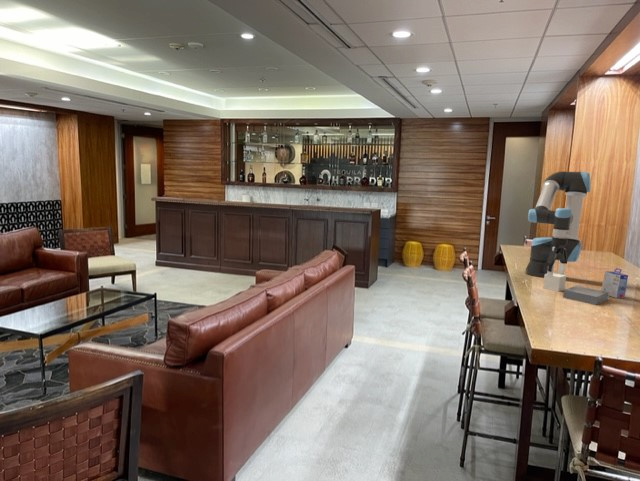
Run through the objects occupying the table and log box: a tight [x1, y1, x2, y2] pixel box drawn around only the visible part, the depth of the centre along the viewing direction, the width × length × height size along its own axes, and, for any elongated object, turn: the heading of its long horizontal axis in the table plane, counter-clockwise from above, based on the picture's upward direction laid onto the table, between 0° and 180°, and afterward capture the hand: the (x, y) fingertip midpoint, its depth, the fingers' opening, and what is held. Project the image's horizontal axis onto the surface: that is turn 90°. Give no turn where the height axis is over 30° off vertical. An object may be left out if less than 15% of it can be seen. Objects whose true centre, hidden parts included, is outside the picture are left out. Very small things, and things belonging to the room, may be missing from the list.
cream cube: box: [542, 272, 567, 292], centre depth 246 cm, size 8×8×8 cm
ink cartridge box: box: [600, 267, 629, 299], centre depth 236 cm, size 10×6×14 cm, turn 15°
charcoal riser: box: [562, 285, 609, 306], centre depth 228 cm, size 16×15×4 cm
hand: (555, 276), depth 245 cm, fingers open, 13 cm apart
